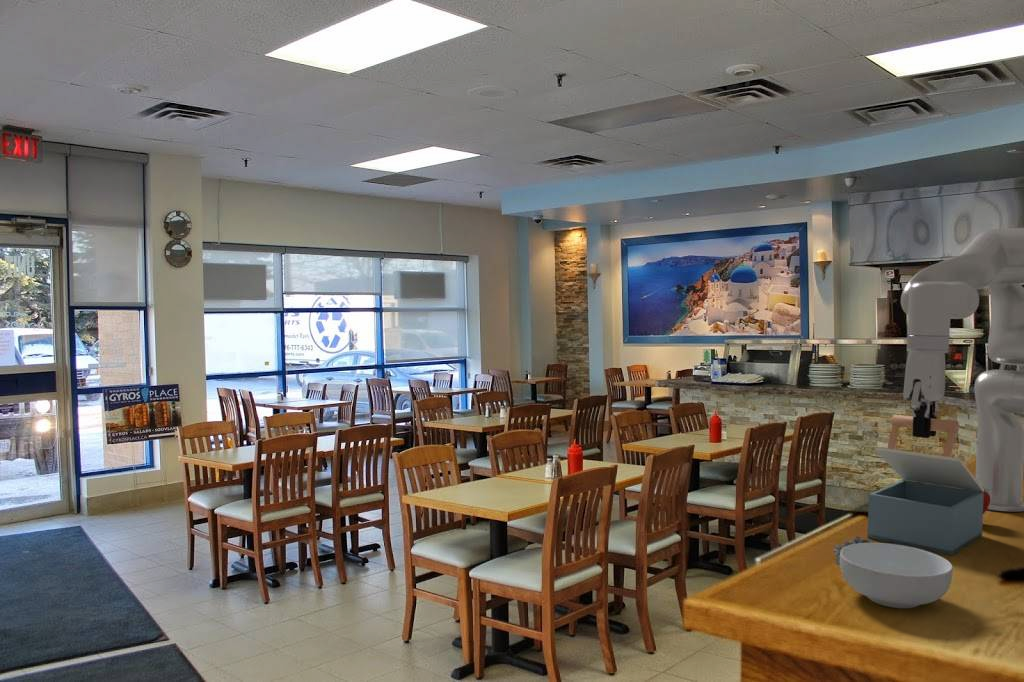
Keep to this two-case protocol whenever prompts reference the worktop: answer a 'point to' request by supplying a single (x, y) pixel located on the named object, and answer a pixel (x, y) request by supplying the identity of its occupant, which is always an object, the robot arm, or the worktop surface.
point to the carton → (925, 516)
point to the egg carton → (855, 541)
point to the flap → (929, 458)
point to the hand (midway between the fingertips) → (924, 435)
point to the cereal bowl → (895, 573)
